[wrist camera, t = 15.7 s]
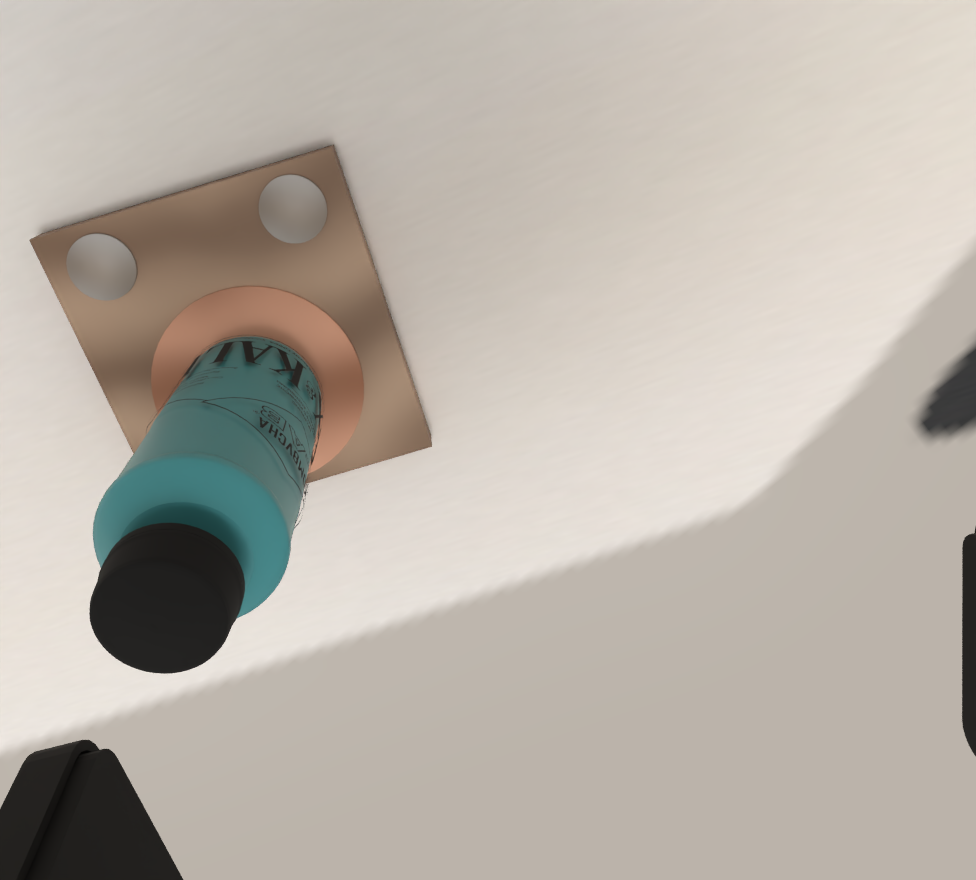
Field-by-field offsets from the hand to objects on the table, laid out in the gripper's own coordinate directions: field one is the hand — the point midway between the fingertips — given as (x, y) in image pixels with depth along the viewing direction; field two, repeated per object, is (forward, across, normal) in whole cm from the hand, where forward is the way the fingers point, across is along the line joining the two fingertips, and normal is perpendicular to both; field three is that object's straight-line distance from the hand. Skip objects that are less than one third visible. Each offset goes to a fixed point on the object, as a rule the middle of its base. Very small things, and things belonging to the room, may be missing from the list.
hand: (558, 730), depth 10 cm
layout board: (+36, +10, +5) cm, 38 cm away
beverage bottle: (+34, +10, +7) cm, 36 cm away
